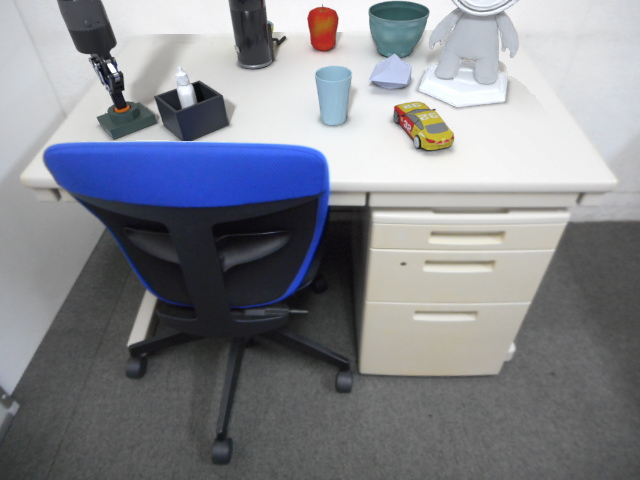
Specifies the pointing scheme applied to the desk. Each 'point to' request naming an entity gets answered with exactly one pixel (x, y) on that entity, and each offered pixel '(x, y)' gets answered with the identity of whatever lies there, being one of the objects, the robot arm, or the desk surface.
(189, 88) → the eye dropper bottle
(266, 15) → the robot arm
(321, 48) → the apple
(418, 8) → the flower pot
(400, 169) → the desk surface
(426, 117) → the toy car
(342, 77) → the cup
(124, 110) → the button
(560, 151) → the desk surface
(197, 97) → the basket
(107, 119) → the control block
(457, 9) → the white toy figurine
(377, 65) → the wedge on round base
